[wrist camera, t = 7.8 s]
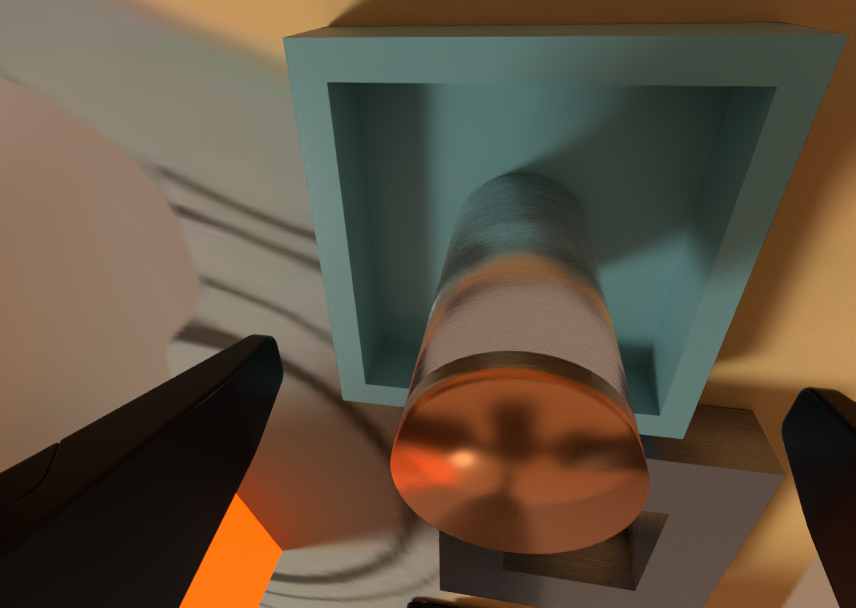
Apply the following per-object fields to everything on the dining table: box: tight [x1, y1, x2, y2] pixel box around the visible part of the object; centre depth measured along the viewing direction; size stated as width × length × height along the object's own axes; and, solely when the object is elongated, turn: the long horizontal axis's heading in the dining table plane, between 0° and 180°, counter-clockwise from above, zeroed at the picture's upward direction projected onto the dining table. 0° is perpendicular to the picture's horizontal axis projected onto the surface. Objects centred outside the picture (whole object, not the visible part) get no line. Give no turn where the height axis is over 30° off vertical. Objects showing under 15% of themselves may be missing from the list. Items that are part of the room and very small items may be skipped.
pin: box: [391, 173, 650, 554], centre depth 10 cm, size 4×4×8 cm
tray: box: [283, 23, 849, 439], centre depth 13 cm, size 10×10×2 cm
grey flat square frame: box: [439, 405, 786, 608], centre depth 18 cm, size 10×10×2 cm
